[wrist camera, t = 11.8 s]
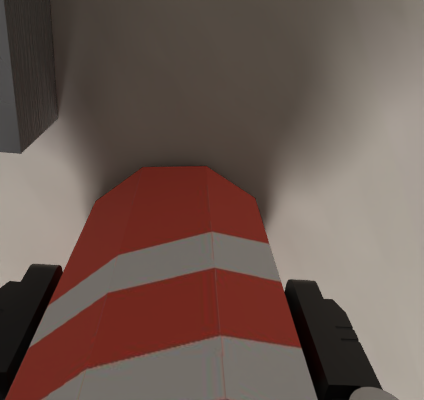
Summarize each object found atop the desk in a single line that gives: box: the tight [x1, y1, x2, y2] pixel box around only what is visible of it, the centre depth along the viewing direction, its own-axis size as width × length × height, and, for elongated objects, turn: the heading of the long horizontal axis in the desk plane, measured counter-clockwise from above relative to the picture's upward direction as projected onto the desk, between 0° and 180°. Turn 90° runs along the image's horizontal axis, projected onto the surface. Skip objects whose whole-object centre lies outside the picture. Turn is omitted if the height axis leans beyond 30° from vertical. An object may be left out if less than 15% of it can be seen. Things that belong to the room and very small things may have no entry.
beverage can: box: [5, 166, 318, 400], centre depth 9 cm, size 6×6×12 cm
